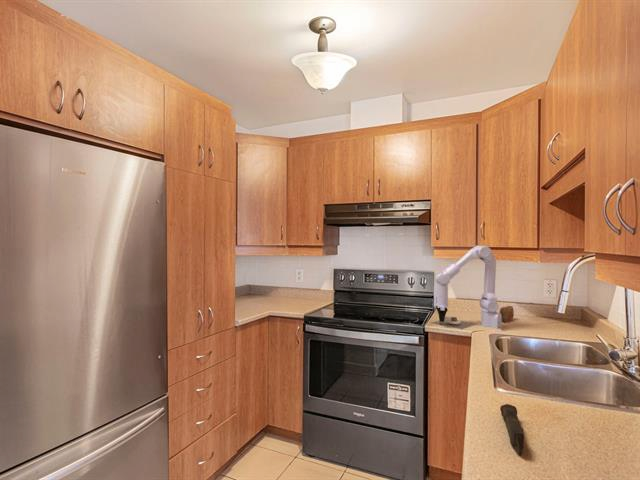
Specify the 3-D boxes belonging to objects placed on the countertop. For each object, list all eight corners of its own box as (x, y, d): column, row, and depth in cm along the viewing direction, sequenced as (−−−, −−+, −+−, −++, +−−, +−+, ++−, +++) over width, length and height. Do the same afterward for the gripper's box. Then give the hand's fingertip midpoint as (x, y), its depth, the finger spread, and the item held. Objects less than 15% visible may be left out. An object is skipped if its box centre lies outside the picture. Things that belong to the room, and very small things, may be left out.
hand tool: (500, 416, 100) (500, 399, 99) (517, 419, 98) (517, 402, 98) (505, 455, 82) (505, 434, 82) (526, 459, 80) (526, 438, 80)
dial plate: (477, 325, 202) (477, 323, 202) (462, 331, 189) (462, 328, 189) (446, 320, 214) (446, 318, 214) (430, 325, 202) (430, 322, 202)
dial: (460, 322, 204) (460, 316, 204) (461, 324, 197) (461, 318, 197) (439, 320, 207) (439, 314, 207) (439, 323, 200) (439, 317, 200)
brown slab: (504, 323, 209) (504, 308, 209) (498, 322, 211) (498, 307, 211) (514, 319, 219) (514, 305, 219) (508, 318, 222) (508, 304, 222)
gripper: (433, 293, 206) (433, 318, 206) (434, 297, 192) (434, 323, 192) (447, 294, 204) (447, 319, 204) (449, 298, 190) (448, 325, 190)
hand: (441, 321), depth 198 cm, fingers closed
